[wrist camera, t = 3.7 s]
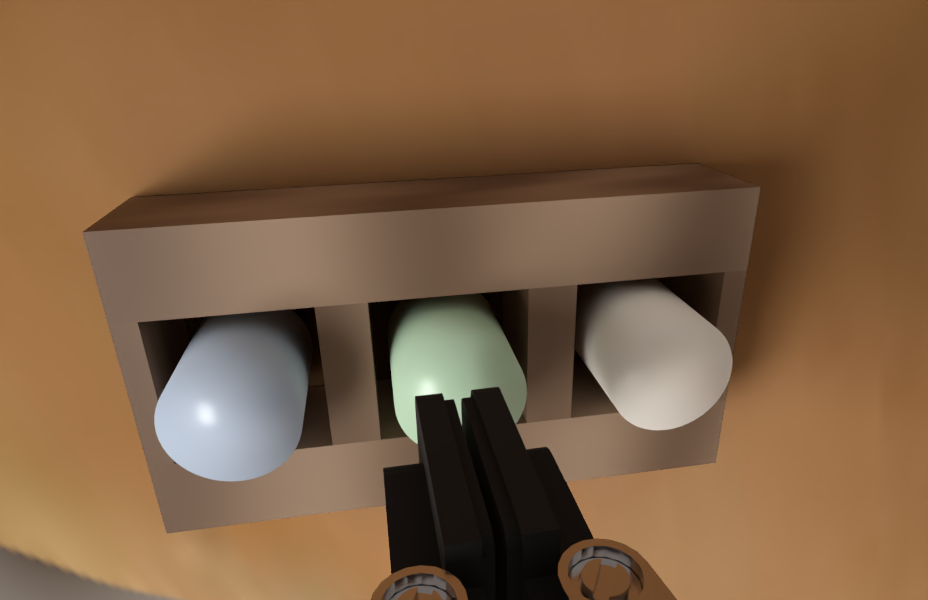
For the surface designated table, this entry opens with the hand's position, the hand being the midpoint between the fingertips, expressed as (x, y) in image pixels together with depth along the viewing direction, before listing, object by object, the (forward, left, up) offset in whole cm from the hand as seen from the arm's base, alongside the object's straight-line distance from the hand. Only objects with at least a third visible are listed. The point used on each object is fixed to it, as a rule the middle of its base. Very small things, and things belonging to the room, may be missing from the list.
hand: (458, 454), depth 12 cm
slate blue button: (+5, 0, -5) cm, 7 cm away
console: (0, 0, -6) cm, 6 cm away
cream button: (-5, 0, -5) cm, 7 cm away
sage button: (0, 0, -6) cm, 6 cm away
